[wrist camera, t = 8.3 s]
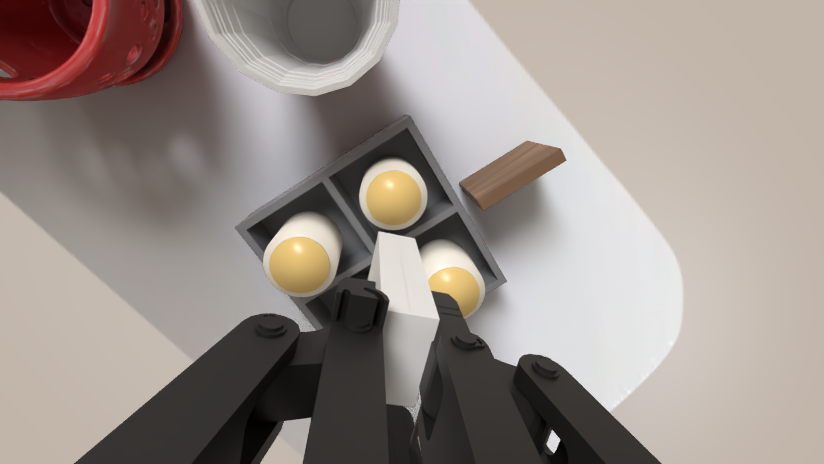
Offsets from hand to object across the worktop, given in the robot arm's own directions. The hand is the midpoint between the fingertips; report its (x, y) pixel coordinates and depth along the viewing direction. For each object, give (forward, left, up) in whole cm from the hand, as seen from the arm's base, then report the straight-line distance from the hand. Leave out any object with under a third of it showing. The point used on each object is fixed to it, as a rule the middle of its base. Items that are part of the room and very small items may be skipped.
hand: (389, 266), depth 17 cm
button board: (+4, -3, -21) cm, 21 cm away
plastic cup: (-13, +3, -21) cm, 25 cm away
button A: (+1, -7, -17) cm, 18 cm away
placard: (+4, +9, -21) cm, 23 cm away
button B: (+1, +1, -19) cm, 19 cm away
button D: (+8, +1, -17) cm, 18 cm away
